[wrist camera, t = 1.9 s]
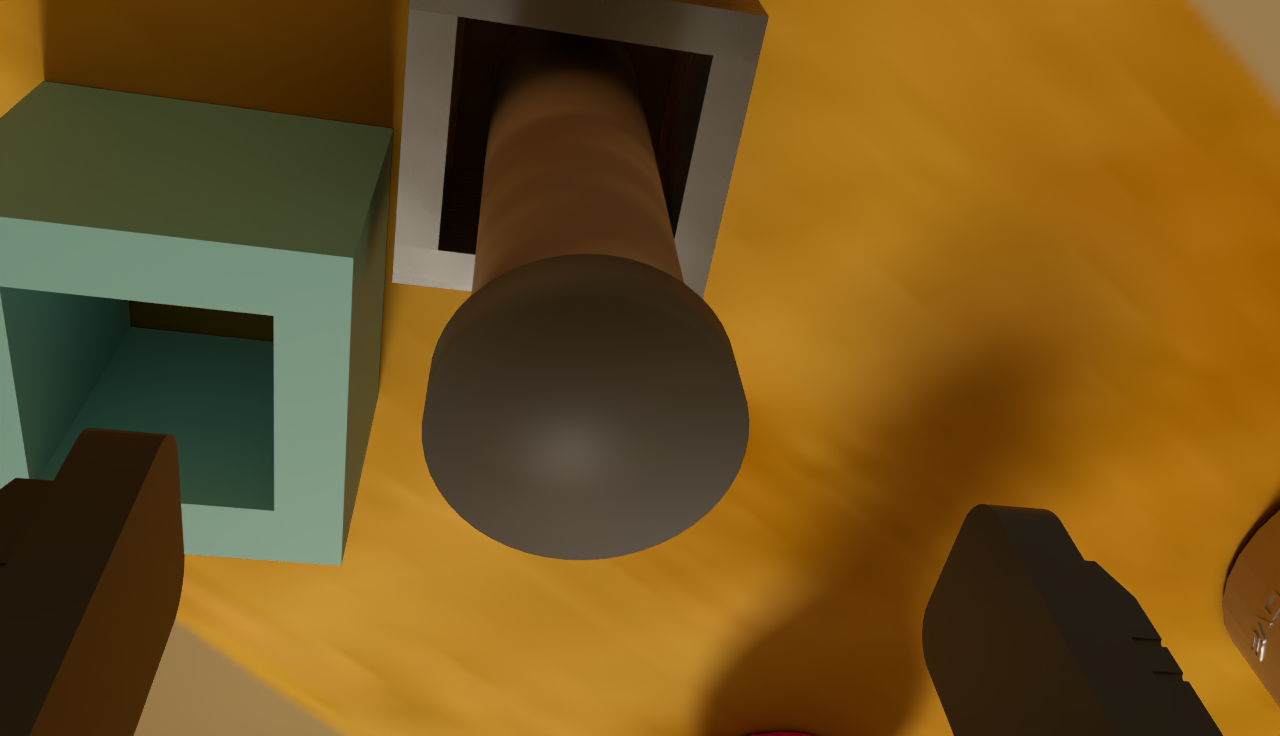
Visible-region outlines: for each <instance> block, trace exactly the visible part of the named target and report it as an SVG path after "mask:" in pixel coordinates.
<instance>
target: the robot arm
mask: <svg viewBox="0 0 1280 736" xmlns="http://www.w3.org/2000/svg"><path fill="white" fill-rule="evenodd" d="M183 575H184V541H183V525H182V509H181V493H180V477H179V461H178V449H177V444H176V440H175V438H174V436H173V435H171V434H162V433H150V432H138V431H126V430H114V429H102V428H86V429H84V430H83V431H82V432H81V433H80V435H79V436H78V438H77V439H76V441H75V443H74V445H73V446H72V448H71V450H70V452H69V454H68V455H67V457H66V459H65V461H64V463H63V464H62V466H61V468H60V470H59V471H58V473H57V475H56V477H55V479H54V480H40V479H26V478H14V479H13V480H12V481H10V482H9V483H8V484H6V485H5V486H4V487H2V488H1V489H0V736H134V733H135V730H136V727H137V725H138V722H139V719H140V716H141V713H142V711H143V708H144V705H145V702H146V699H147V696H148V693H149V691H150V688H151V685H152V683H153V680H154V677H155V674H156V671H157V669H158V666H159V663H160V660H161V657H162V655H163V652H164V649H165V646H166V643H167V641H168V638H169V635H170V632H171V629H172V627H173V624H174V621H175V618H176V614H177V610H178V606H179V601H180V596H181V591H182V584H183ZM1222 604H1223V615H1224V624H1225V626H1226V628H1227V630H1228V632H1229V634H1230V636H1231V639H1232V641H1233V642H1234V644H1235V645H1236V646H1237V648H1238V649H1239V651H1240V652H1241V654H1242V655H1243V656H1244V658H1245V659H1246V661H1247V662H1248V664H1249V665H1250V666H1251V668H1252V669H1253V671H1254V672H1255V674H1256V675H1257V676H1258V678H1259V679H1260V681H1261V682H1262V684H1263V685H1264V686H1265V688H1266V689H1267V691H1268V692H1269V694H1270V695H1271V696H1272V698H1273V699H1274V701H1275V702H1276V704H1277V705H1278V706H1279V708H1280V510H1279V511H1278V512H1277V513H1276V514H1275V515H1274V516H1273V517H1271V518H1270V519H1269V520H1268V521H1267V522H1266V523H1265V524H1264V525H1263V526H1262V527H1261V528H1260V529H1259V530H1258V531H1257V532H1256V533H1255V535H1254V536H1253V537H1252V539H1251V540H1250V541H1249V543H1248V544H1247V545H1246V547H1245V548H1244V549H1243V551H1242V552H1241V553H1240V555H1239V556H1238V558H1237V560H1236V563H1235V565H1234V567H1233V569H1232V571H1231V573H1230V575H1229V577H1228V579H1227V583H1226V588H1225V592H1224V597H1223V602H1222ZM1161 640H1162V639H1161V637H1160V636H1159V634H1158V633H1157V631H1156V630H1155V628H1154V626H1153V625H1152V623H1151V622H1150V620H1149V619H1148V617H1147V615H1146V614H1145V612H1144V611H1143V609H1142V608H1141V606H1140V605H1139V603H1138V601H1137V600H1136V598H1135V597H1134V596H1132V595H1131V594H1130V593H1129V592H1128V591H1127V590H1126V589H1125V588H1124V587H1123V586H1121V585H1120V584H1119V583H1118V582H1117V581H1116V580H1115V579H1114V578H1113V577H1112V576H1110V575H1109V574H1108V573H1107V572H1106V571H1105V570H1104V569H1103V568H1102V567H1101V566H1099V565H1098V564H1097V563H1096V562H1095V561H1085V560H1084V559H1083V557H1082V556H1081V554H1080V552H1079V551H1078V549H1077V547H1076V546H1075V544H1074V542H1073V541H1072V539H1071V537H1070V536H1069V534H1068V533H1067V531H1066V529H1065V528H1064V526H1063V524H1062V523H1061V521H1060V520H1059V518H1058V517H1057V516H1056V515H1055V514H1054V513H1053V512H1051V511H1049V510H1045V509H1035V508H1023V507H1011V506H999V505H987V504H980V505H977V506H975V507H974V508H973V509H971V510H970V512H969V513H968V514H967V516H966V518H965V520H964V522H963V524H962V527H961V529H960V531H959V534H958V536H957V538H956V540H955V543H954V545H953V547H952V550H951V552H950V554H949V556H948V559H947V561H946V563H945V566H944V568H943V570H942V572H941V575H940V577H939V579H938V582H937V584H936V586H935V588H934V591H933V593H932V595H931V597H930V600H929V602H928V605H927V607H926V611H925V615H924V620H923V629H922V642H923V651H924V657H925V661H926V665H927V668H928V670H929V673H930V675H931V678H932V681H933V683H934V686H935V688H936V691H937V693H938V696H939V698H940V701H941V704H942V706H943V709H944V711H945V714H946V716H947V719H948V721H949V724H950V727H951V729H952V732H953V734H954V736H1223V735H1222V733H1221V732H1220V730H1219V728H1218V727H1217V725H1216V724H1215V722H1214V721H1213V719H1212V717H1211V716H1210V714H1209V713H1208V711H1207V710H1206V708H1205V706H1204V705H1203V703H1202V702H1201V700H1200V699H1199V697H1198V696H1197V694H1196V692H1195V691H1194V689H1193V688H1192V686H1191V685H1190V683H1189V682H1187V681H1183V679H1182V674H1183V672H1182V670H1181V669H1180V667H1179V666H1178V664H1177V663H1176V661H1175V659H1174V658H1173V656H1172V655H1171V653H1170V652H1169V650H1168V648H1167V647H1162V646H1161Z"/></svg>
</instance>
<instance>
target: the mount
mask: <svg viewBox="0 0 1280 736" xmlns="http://www.w3.org/2000/svg"><path fill="white" fill-rule="evenodd" d="M768 17H769V16H768V15H767V13H766V12H765V10H764V8H763V7H762V5H761V4H760V2H759V0H410V2H409V19H408V35H407V51H406V68H405V84H404V100H403V116H402V133H401V149H400V165H399V182H398V198H397V214H396V231H395V247H394V263H393V279H392V283H401V284H410V285H419V286H427V287H436V288H445V289H454V290H463V291H471V292H472V284H473V274H474V265H475V255H476V246H477V236H478V226H479V217H480V207H481V198H482V188H483V179H484V171H477V170H470V169H462V168H455V167H452V162H453V150H454V139H455V128H456V117H457V105H458V94H459V83H460V71H461V60H462V49H463V38H464V26H465V18H472V19H478V20H485V21H491V22H498V23H504V24H511V25H517V26H524V27H530V28H537V29H544V30H550V31H557V32H563V33H570V34H576V35H583V36H589V37H596V38H602V39H609V40H615V41H622V42H628V43H635V44H642V45H648V46H655V47H661V48H668V49H674V50H677V52H676V57H675V63H674V68H673V73H672V78H671V83H670V89H669V94H668V99H667V104H666V109H665V114H664V120H663V125H662V130H661V135H660V140H659V145H658V151H657V156H656V163H657V167H658V171H659V176H660V180H661V184H662V189H663V193H664V198H665V202H666V206H667V211H668V215H669V219H670V224H671V228H672V232H673V237H674V241H675V246H676V250H677V254H678V259H679V263H680V267H681V272H682V276H683V280H684V283H685V284H686V285H687V286H688V287H689V288H691V289H692V290H693V291H694V292H696V293H697V294H698V295H699V296H700V297H701V298H702V299H703V295H704V291H705V286H706V282H707V278H708V273H709V269H710V265H711V261H712V256H713V252H714V248H715V244H716V239H717V235H718V231H719V226H720V222H721V218H722V214H723V209H724V205H725V201H726V197H727V192H728V188H729V184H730V179H731V175H732V171H733V167H734V162H735V158H736V154H737V149H738V145H739V141H740V137H741V132H742V128H743V124H744V120H745V115H746V111H747V107H748V102H749V98H750V94H751V90H752V85H753V81H754V77H755V72H756V68H757V64H758V60H759V55H760V51H761V47H762V43H763V38H764V34H765V30H766V25H767V21H768Z"/></svg>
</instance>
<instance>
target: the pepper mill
mask: <svg viewBox="0 0 1280 736" xmlns="http://www.w3.org/2000/svg"><path fill="white" fill-rule="evenodd" d="M750 736H813V735H809V734H805V733H797V732H770V733H761V734H753V735H750Z"/></svg>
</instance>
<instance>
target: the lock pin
mask: <svg viewBox="0 0 1280 736" xmlns="http://www.w3.org/2000/svg"><path fill="white" fill-rule="evenodd" d="M748 437H749V414H748V406H747V401H746V397H745V393H744V390H743V386H742V382H741V379H740V375H739V372H738V368H737V364H736V361H735V357H734V354H733V350H732V347H731V343H730V340H729V338H728V336H727V334H726V332H725V329H724V327H723V325H722V323H721V322H720V320H719V319H718V318H717V316H716V315H715V313H714V312H713V310H712V309H711V308H710V307H709V306H708V304H707V303H706V302H705V301H704V300H703V299H702V298H701V297H700V296H699V295H698V294H697V293H696V292H694V291H693V290H692V289H691V288H689V287H688V286H687V285H686V284H685V283H684V280H683V276H682V272H681V267H680V263H679V259H678V254H677V250H676V246H675V241H674V237H673V232H672V228H671V224H670V219H669V215H668V211H667V206H666V202H665V198H664V193H663V189H662V184H661V180H660V176H659V171H658V167H657V163H656V158H655V154H654V149H653V145H652V141H651V136H650V132H649V128H648V123H647V119H646V115H645V110H644V106H643V101H642V97H641V93H640V88H639V84H638V80H637V75H636V71H635V67H634V63H633V60H632V57H631V55H630V53H629V51H628V49H627V47H626V46H625V44H624V42H622V41H615V40H609V39H602V38H596V37H589V36H583V35H576V34H570V33H563V32H557V31H550V30H544V29H537V28H530V27H524V26H521V27H520V28H519V29H518V30H517V31H516V32H514V33H513V35H512V36H511V37H510V38H509V39H508V40H507V42H506V44H505V45H504V47H503V48H502V50H501V52H500V55H499V57H498V60H497V63H496V68H495V74H494V83H493V92H492V102H491V112H490V121H489V131H488V140H487V150H486V159H485V169H484V179H483V188H482V198H481V207H480V217H479V226H478V236H477V246H476V255H475V265H474V274H473V284H472V293H471V296H470V297H469V298H468V299H467V300H466V301H465V302H464V303H463V304H462V305H461V307H460V308H459V309H458V310H457V311H456V312H455V314H454V315H453V316H452V318H451V319H450V321H449V322H448V323H447V325H446V326H445V328H444V330H443V332H442V334H441V336H440V338H439V340H438V342H437V345H436V348H435V351H434V354H433V357H432V362H431V368H430V374H429V381H428V388H427V394H426V401H425V407H424V414H423V421H422V444H423V450H424V456H425V460H426V463H427V466H428V469H429V472H430V475H431V477H432V478H433V480H434V482H435V484H436V486H437V488H438V490H439V491H440V493H441V494H442V496H443V497H444V498H445V500H446V501H447V502H448V504H449V505H450V506H451V507H452V508H453V509H454V510H455V511H456V512H457V513H458V514H459V515H460V516H461V517H462V518H463V519H464V520H465V521H467V522H468V523H469V524H470V525H472V526H473V527H474V528H475V529H477V530H479V531H480V532H482V533H483V534H485V535H487V536H488V537H490V538H492V539H494V540H496V541H498V542H500V543H502V544H504V545H506V546H509V547H511V548H514V549H517V550H520V551H523V552H526V553H530V554H534V555H539V556H543V557H549V558H557V559H565V560H593V559H606V558H612V557H618V556H624V555H627V554H631V553H635V552H639V551H642V550H645V549H648V548H650V547H653V546H656V545H658V544H661V543H663V542H665V541H667V540H669V539H671V538H673V537H675V536H677V535H678V534H680V533H682V532H683V531H685V530H686V529H688V528H689V527H691V526H692V525H694V524H695V523H696V522H697V521H699V520H700V519H701V518H702V517H704V516H705V515H706V514H707V513H708V512H709V511H710V510H711V509H712V508H713V507H714V506H715V505H716V504H717V503H718V502H719V501H720V500H721V498H722V497H723V496H724V494H725V493H726V491H727V490H728V489H729V487H730V486H731V484H732V483H733V481H734V479H735V477H736V475H737V473H738V471H739V469H740V467H741V464H742V461H743V458H744V456H745V452H746V447H747V442H748Z"/></svg>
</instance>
